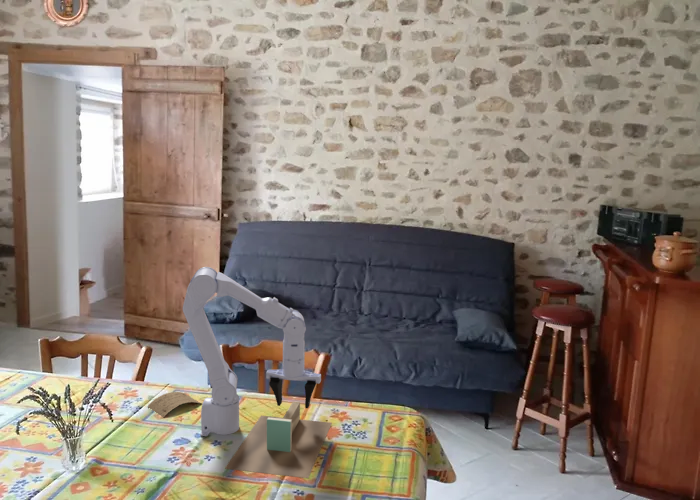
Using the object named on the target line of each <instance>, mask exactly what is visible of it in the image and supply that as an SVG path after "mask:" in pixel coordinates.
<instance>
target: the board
mask: <svg viewBox="0 0 700 500" xmlns="http://www.w3.org/2000/svg"><path fill="white" fill-rule="evenodd" d="M268 417H270V418H280V419H283V417H278V416H268V415H260V416H259V418H258V420H257V421H256V423H255V424H254V425H253V426H252V428H251V430H250V431H249V433H248V434H247V435H246V437H245V438H244V440H243V441H242V443H241V444H240V446H239V447H238V448H237V450H235V451H236V452H235V453H234V454H233V456H231V459H230V460H229V461H228V463H227V465H225V467H224V469H226V470H234V471H242V472H243V471H244V472H251V473H260V474H268V475H278V476H284V477H285V476H286V477H295V478H302V479H303V478H304V479H309V477H310V475H311V473H312V470H313V468H314V467H315V464H316V461H317V459H318V457H319V453H320V452H321V449H322V447H323V445H324V442H325V440H326V438H327V435H328V433H329V431H330V428H331V425H332V422H327V421H319V420H309V419H300V420H299V422H298V424H297V425H296V427H295V429H294V431H293V433H292V450H291V452H285V451H276V450H267V418H268Z"/></svg>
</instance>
